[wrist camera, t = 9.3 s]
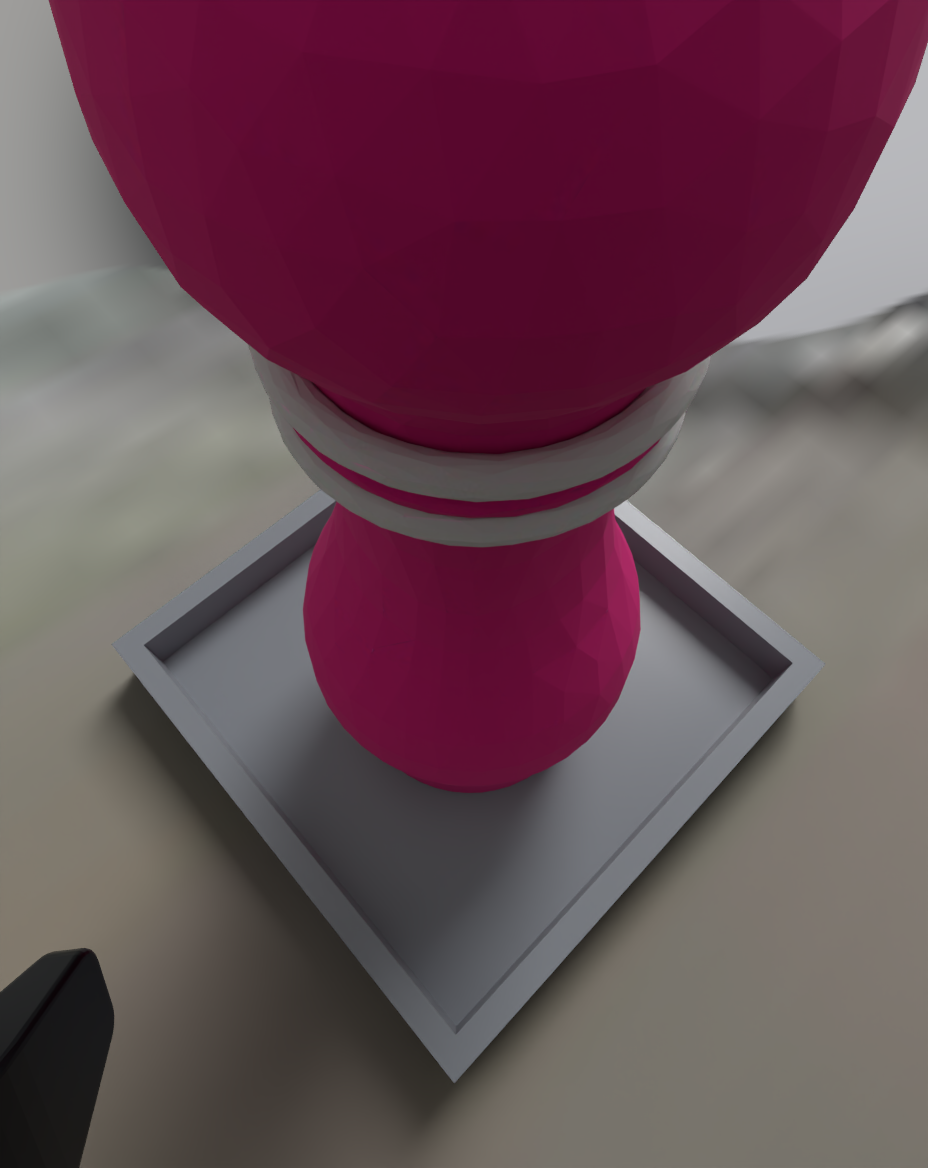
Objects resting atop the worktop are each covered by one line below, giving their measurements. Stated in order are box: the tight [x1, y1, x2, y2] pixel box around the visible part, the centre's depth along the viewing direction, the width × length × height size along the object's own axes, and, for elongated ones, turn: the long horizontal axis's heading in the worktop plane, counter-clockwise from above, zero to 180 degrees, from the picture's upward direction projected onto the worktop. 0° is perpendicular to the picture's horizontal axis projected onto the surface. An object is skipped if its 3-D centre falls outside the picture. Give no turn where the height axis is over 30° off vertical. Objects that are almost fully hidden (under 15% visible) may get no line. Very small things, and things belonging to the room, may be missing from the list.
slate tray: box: [112, 490, 825, 1083], centre depth 20 cm, size 13×13×2 cm
